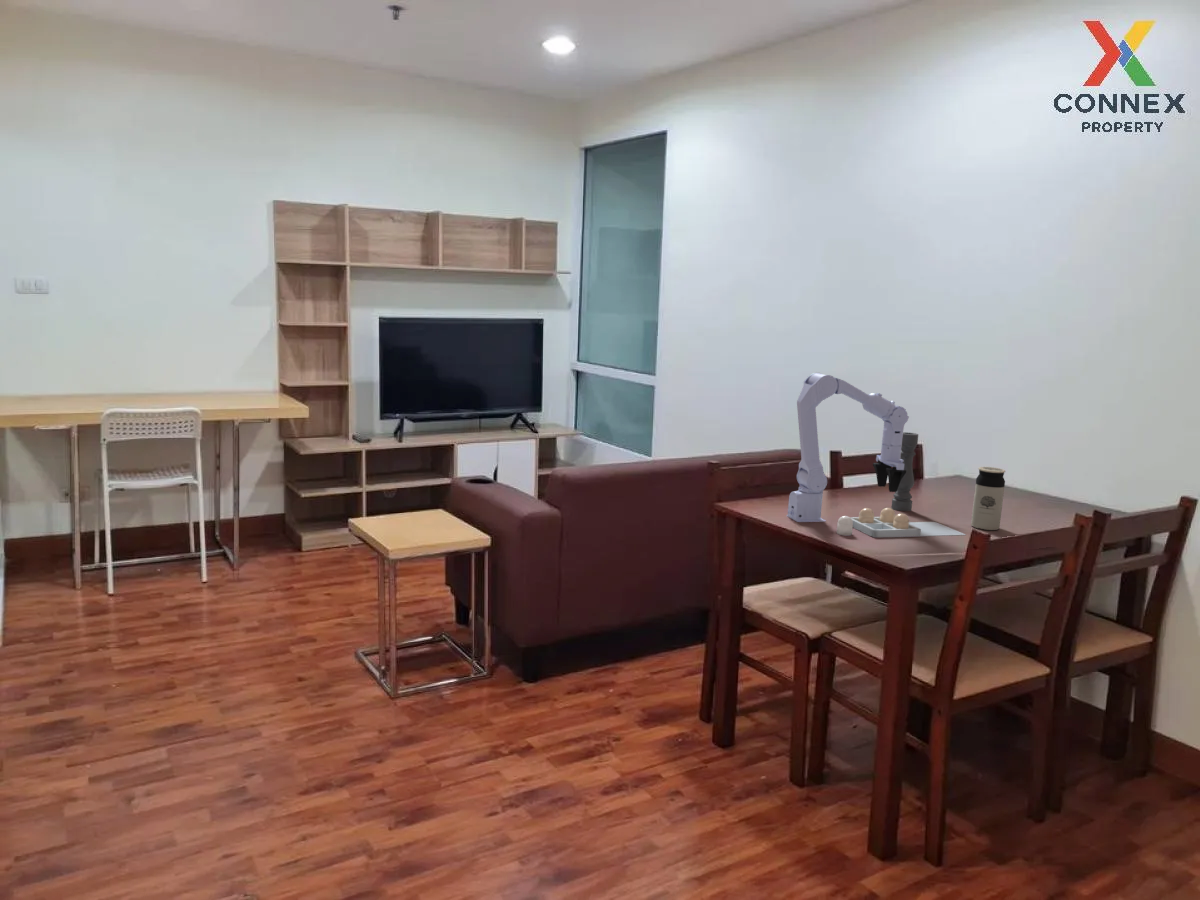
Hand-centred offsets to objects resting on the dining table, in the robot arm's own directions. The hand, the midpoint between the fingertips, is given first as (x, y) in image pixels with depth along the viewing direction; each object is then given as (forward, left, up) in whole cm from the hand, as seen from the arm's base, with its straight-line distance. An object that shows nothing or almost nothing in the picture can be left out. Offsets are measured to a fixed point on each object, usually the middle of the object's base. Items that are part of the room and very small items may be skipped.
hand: (887, 489), depth 274 cm
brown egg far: (-5, -9, -9) cm, 14 cm away
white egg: (-22, -15, -10) cm, 29 cm away
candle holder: (+14, +13, -10) cm, 21 cm away
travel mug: (+28, -10, -10) cm, 31 cm away
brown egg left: (-12, -9, -9) cm, 17 cm away
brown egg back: (-5, -16, -9) cm, 19 cm away
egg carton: (-1, -12, -10) cm, 16 cm away
